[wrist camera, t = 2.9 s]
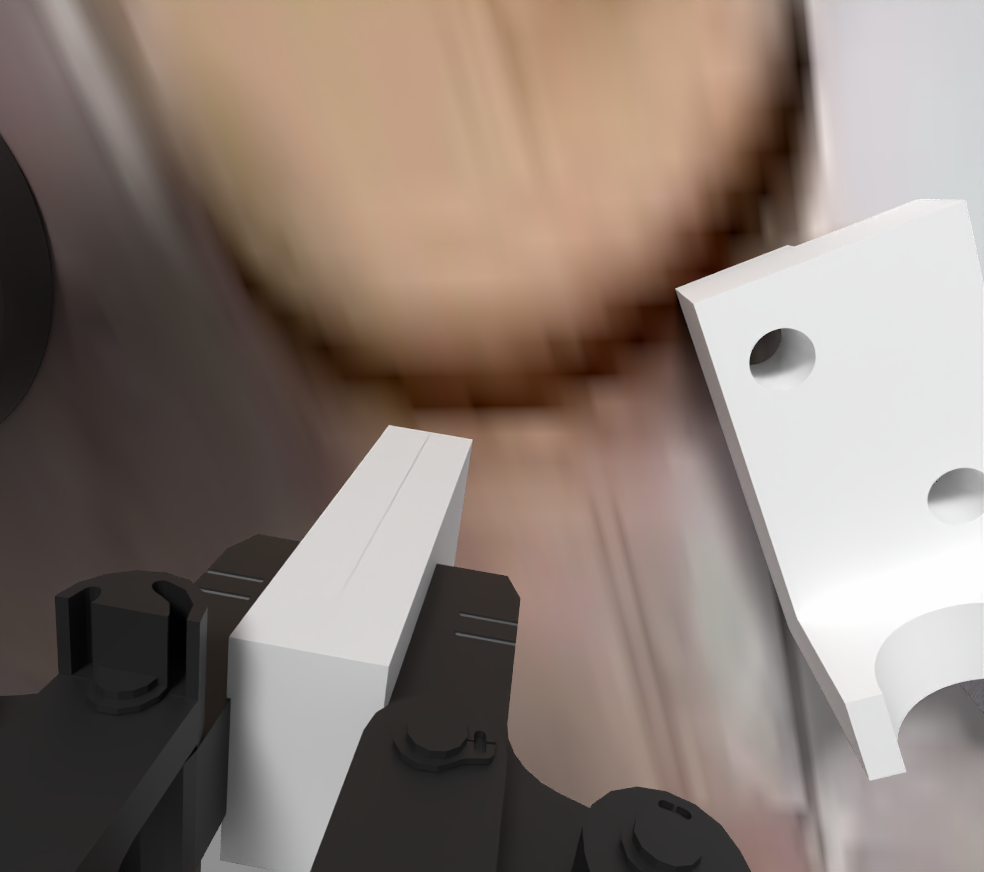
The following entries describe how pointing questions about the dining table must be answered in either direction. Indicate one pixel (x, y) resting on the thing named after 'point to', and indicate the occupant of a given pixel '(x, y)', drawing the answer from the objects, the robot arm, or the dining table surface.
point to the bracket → (862, 452)
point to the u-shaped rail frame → (975, 691)
